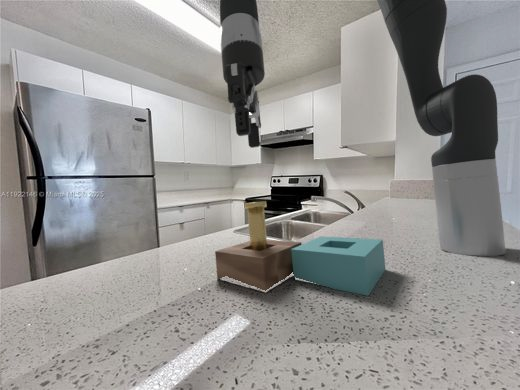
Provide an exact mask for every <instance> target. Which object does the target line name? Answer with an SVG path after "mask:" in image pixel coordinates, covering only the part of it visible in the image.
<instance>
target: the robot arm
mask: <svg viewBox="0 0 520 390" xmlns="http://www.w3.org/2000/svg"><path fill="white" fill-rule="evenodd" d="M218 1H219V3H218V4H219V6H218V7H219V8H218V11H219V25H220V53H221V64H222V75H223V76H222V77H223V80H224V81H225V83H226V86H227V101H228V102H229V104H232V105H231V109H232V111H233V112H234V120H235V121H234V122H235V131H236V135H238V136H239V137H243V136H247V139H248V147H250V148H251V149H254V148H258V147H260V146H261V141H260V139H261V138H260V130H259V129H261V128H262V123H261V113H260V112H261V111H260V101H259V93H258V90H256V86H258V85H260V83H262V82H263V80H264V78H265V64H264V51H263V39H262V34H261V30H260V29H261V28H260V24H259V23H260V22H259V12H258V11H259V10H258V4H257V0H218ZM376 2H377V4H378V6H379V8H380V12H381V14H382V17H383V20H384V24H385V26H386V28H387V32H388V33H389V36H390V38H391V41H392V43H393V45H394V48H395V50H396V52H397V53H396V54H397V55H398V59H399V62H400V64H401V67H402V70H403V73H404V76H405V79H406V84H407V86H408V91H409V95H410V99H411V103H412V107H413V110H414V115H415V118H416V121H417V123H418V125H419V126H420V128H421V130H422V131H423V132H424V133H425V134H427V135H428V136H432V137H441V136H445V135H447V134H450V135H451V136H450V137H449V139H448V140H447V142H446V143H445V144H444V145H443V146H442V147H441V148H439V149H437V150H436V151H434V152H433V154H431V157H430V159H431V160H430V161H431V170H432V180H433V191H434V198H435V199H434V200H435V201H434V202H435V209H436V217H437V218H436V220H437V228H438V231H437V232H438V239H439V248H440V249H441V250H442V251H444V252H448V253H451V254H452V253H453V254H458V255H464V256H465V255H466V256H477V257H495V256H502V255H505V254H506V252H507V250H506V249H507V248H506V241H505V232H504V230H505V229H504V221H503V214H502V204H501V197H500V196H501V195H500V186H499V176H498V168H497V160H496V159H497V158H496V150H497V147H498V144H499V143H498V142H499V128H498V127H499V126H498V124H499V123H498V100H497V93H496V91H495V88H494V86H493V84H492V82H491V81H490V80H489V79H488V78H486V76H484V75H481V74H478V73H477V74H469V75H466V76H463V77H461V78H459V79H458V80H456V81H453V82H452V83H450V84H448V85H446V86H444V85H443V83H442V79H441V76H440V71H439V70H440V69H439V59H440V52H441V47H442V43H443V40H444V39H443V38H444V35H445V29H446V24H447V17H448V16H447V15H448V10H447V9H448V8H447V4H446V0H376ZM253 118H254V120H255V122H252V119H253Z"/></svg>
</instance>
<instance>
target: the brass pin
mask: <svg viewBox="0 0 520 390" xmlns="http://www.w3.org/2000/svg"><path fill="white" fill-rule="evenodd" d="M243 206H244V207H243V209H244V210H246V212H247V220H248V221H247V222H248V231H249V241H250V246H251V250H256V251H262V250H264V249H267V240H268V239H267V228H266V216H265V208H267V206H268V205H267V201H266V200H265V201H252V202H244V203H243Z"/></svg>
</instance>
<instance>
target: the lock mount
mask: <svg viewBox="0 0 520 390" xmlns="http://www.w3.org/2000/svg"><path fill="white" fill-rule="evenodd" d="M300 245H302V242H301V241H290V240H289V241H287V240H286V241H285V240H278V239H277V240H275V239H274V240H273V239H267V249H264V250H262V251H256V250H251V246H250V240H248V241H245V242H242V243H239V244H235V245H232V246H228V247H225V248H222V249H219V250H215V252H214V253H215V255H214V256H215V266H216V268H215V269H216V279H217V280H218V279H220V278H222V277H225V276H228V277H229V278H233V279H235V280H238V281H241V282H243V283H246V284H248V285H251V286H255V287H257V288H260V289H262V290H265V291H266V290H267V289H269V288H270V287H272V286H273V285H274V284H276V283H278V282H279V281H281V280H283V279H285V278H286V277H287V276H289V275H290V274H291V273H292V272H293V262H292V251H291V249H293V248H295V247H298V246H300ZM218 281H219V280H218Z"/></svg>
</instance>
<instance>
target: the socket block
mask: <svg viewBox="0 0 520 390" xmlns="http://www.w3.org/2000/svg"><path fill="white" fill-rule="evenodd" d="M301 244H302V243H301ZM291 251H292V262H293V274H294V276H293V278H294V277H296V278H299V279H303V280H306V281H310V282H313V283H316V284H319V285H323V286H327V287H326V288H328V287H330V288H329V289H333V290H339V291H344V292H347V293H353V294H358V295H363V296H367V297H368V296H369V295H370V294H371V293H372V291H373V290H374V288H375V287H376V285H377V283H378V281H380V279H381V277H382V276H383V275H384V273H385V272H386V269H387V268H386V261H385V260H386V259H385V252H384V251H385V248H384V239H377V238H362V237H361V238H357V237H340V236H322V235H321V236H318V237H316V238H314V239H312V240H310V241H309V240H308V241H307V242H305V243H303V244H302V245H300V246H298V247H295V248H293V249H291ZM319 285H318V286H319ZM323 286H322V287H323Z"/></svg>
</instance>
